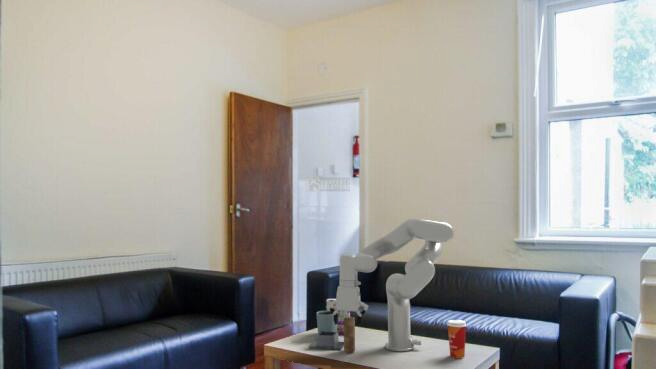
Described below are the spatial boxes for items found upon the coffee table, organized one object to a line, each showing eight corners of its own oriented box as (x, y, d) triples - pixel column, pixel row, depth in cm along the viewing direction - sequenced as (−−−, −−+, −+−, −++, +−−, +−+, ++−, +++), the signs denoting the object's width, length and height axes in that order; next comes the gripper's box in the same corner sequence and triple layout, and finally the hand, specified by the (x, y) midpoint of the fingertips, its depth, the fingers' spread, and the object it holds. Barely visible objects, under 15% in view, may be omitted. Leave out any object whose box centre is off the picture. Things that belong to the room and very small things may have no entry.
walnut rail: (355, 350, 211) (354, 317, 212) (353, 353, 207) (353, 319, 208) (345, 350, 212) (345, 316, 213) (344, 352, 208) (343, 318, 209)
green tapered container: (314, 340, 227) (313, 314, 228) (319, 335, 237) (319, 309, 238) (335, 341, 225) (335, 315, 226) (340, 336, 235) (340, 310, 235)
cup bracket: (345, 344, 221) (345, 331, 221) (340, 350, 211) (340, 337, 212) (314, 342, 224) (314, 330, 225) (308, 348, 215) (308, 335, 215)
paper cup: (445, 353, 205) (445, 319, 206) (464, 353, 205) (463, 319, 206) (449, 359, 198) (449, 323, 198) (469, 359, 197) (468, 323, 198)
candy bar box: (350, 332, 242) (350, 298, 243) (349, 335, 237) (348, 300, 238) (327, 331, 244) (327, 298, 244) (326, 334, 239) (325, 299, 239)
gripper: (369, 283, 212) (369, 324, 212) (330, 281, 216) (329, 321, 216) (367, 286, 205) (366, 328, 204) (326, 283, 209) (325, 325, 208)
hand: (347, 324), depth 210 cm, fingers open, 9 cm apart
